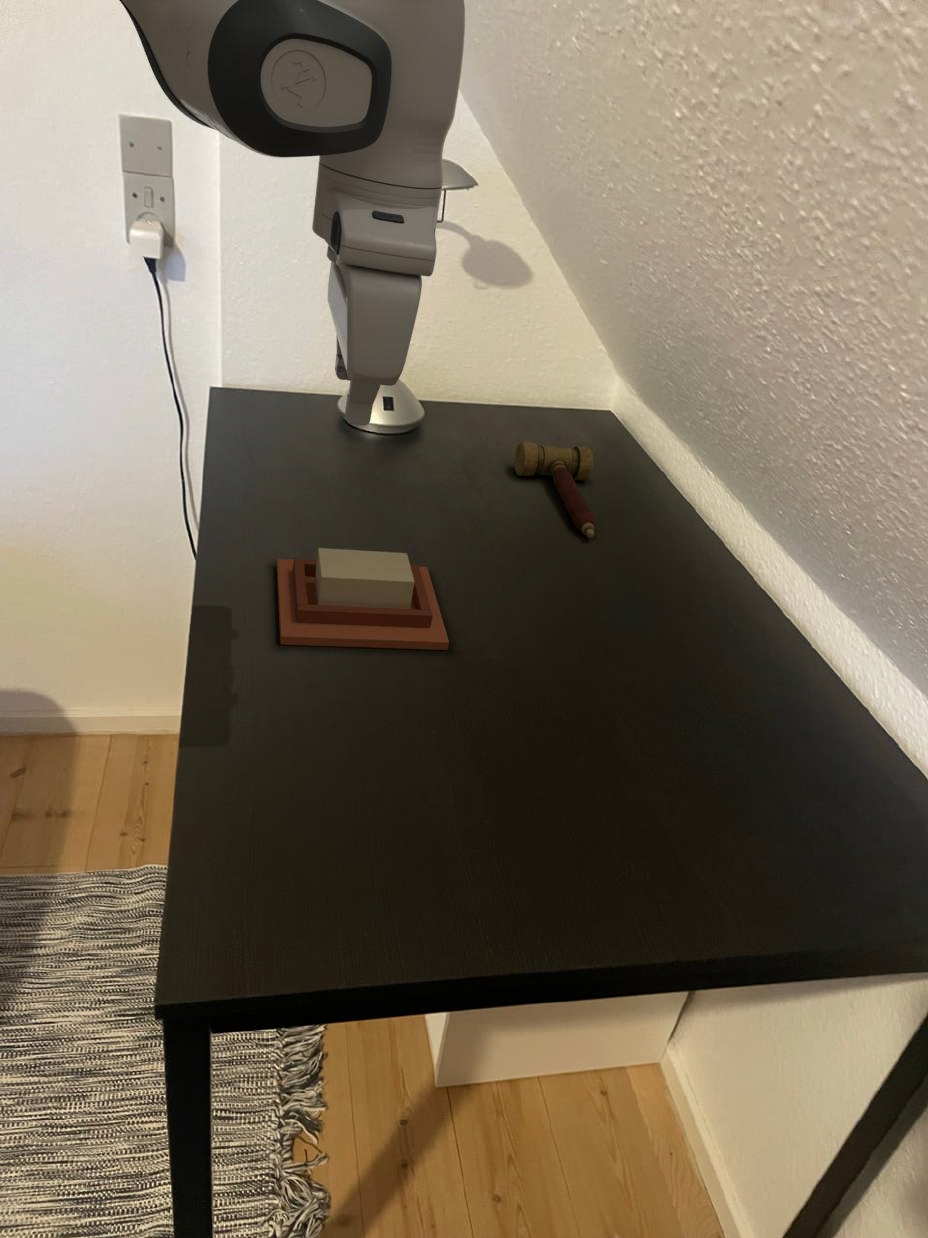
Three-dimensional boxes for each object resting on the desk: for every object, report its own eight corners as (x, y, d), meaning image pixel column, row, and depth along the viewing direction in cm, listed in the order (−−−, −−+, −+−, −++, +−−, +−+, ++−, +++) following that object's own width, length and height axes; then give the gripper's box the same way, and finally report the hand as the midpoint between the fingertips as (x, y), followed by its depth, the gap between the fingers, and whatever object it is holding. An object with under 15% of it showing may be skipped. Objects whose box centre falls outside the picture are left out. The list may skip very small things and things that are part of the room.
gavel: (634, 522, 115) (557, 517, 113) (623, 553, 118) (548, 548, 116) (587, 441, 132) (519, 435, 129) (579, 470, 134) (511, 464, 132)
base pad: (280, 644, 88) (282, 622, 86) (276, 566, 99) (278, 546, 98) (447, 650, 92) (451, 629, 90) (425, 574, 103) (429, 554, 102)
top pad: (317, 611, 91) (321, 576, 89) (314, 581, 96) (318, 547, 94) (408, 615, 94) (414, 581, 92) (401, 586, 98) (407, 552, 96)
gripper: (321, 182, 76) (304, 350, 83) (344, 242, 59) (320, 445, 67) (398, 195, 78) (374, 359, 85) (441, 257, 61) (407, 454, 68)
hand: (350, 398), depth 76 cm, fingers open, 8 cm apart
